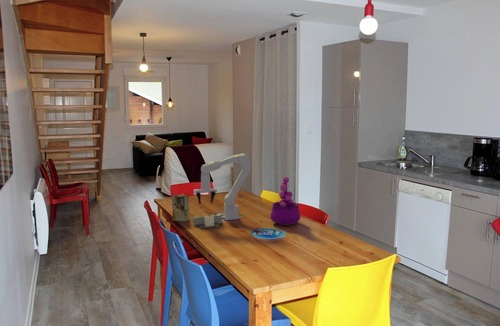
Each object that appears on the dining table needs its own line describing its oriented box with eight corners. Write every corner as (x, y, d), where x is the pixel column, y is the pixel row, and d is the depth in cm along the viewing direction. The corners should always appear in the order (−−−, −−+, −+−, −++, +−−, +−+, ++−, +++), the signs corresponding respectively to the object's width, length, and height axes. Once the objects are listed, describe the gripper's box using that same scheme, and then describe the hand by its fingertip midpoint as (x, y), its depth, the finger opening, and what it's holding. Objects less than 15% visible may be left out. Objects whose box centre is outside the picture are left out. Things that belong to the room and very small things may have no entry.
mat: (217, 223, 263) (217, 222, 262) (220, 227, 255) (220, 226, 255) (198, 225, 259) (198, 224, 259) (200, 228, 252) (200, 228, 251)
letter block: (212, 223, 260) (212, 214, 259) (214, 226, 256) (213, 216, 255) (204, 224, 259) (204, 214, 258) (206, 226, 254) (205, 216, 253)
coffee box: (189, 219, 272) (189, 195, 270) (185, 221, 266) (184, 197, 264) (176, 217, 275) (176, 194, 273) (172, 220, 269) (171, 196, 267)
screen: (221, 222, 265) (221, 214, 264) (222, 223, 264) (221, 215, 263) (193, 224, 260) (193, 217, 259) (193, 225, 259) (193, 217, 258)
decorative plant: (298, 228, 252) (299, 180, 248) (268, 227, 256) (268, 178, 251) (301, 220, 270) (302, 174, 266) (272, 218, 274) (273, 173, 269)
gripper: (195, 184, 263) (195, 205, 265) (217, 183, 267) (217, 204, 269) (193, 182, 270) (193, 203, 272) (215, 181, 274) (215, 201, 276)
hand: (205, 203), depth 271 cm, fingers open, 7 cm apart
